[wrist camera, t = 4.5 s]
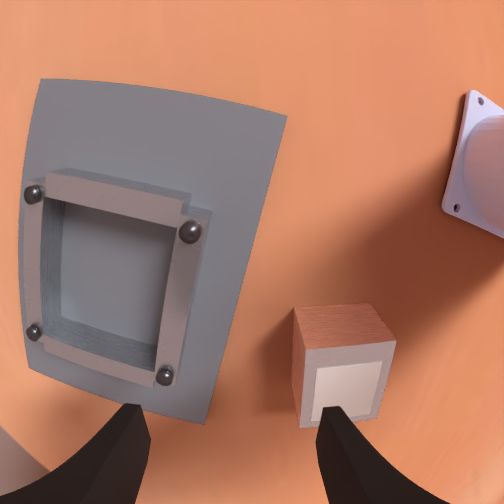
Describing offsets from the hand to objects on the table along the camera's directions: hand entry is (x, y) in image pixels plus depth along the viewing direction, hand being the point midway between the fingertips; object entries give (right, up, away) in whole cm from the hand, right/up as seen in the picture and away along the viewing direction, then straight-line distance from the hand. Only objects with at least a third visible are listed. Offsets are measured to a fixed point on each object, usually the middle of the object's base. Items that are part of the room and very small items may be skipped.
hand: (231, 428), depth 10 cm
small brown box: (+6, +1, +9) cm, 11 cm away
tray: (-7, +5, +7) cm, 11 cm away
